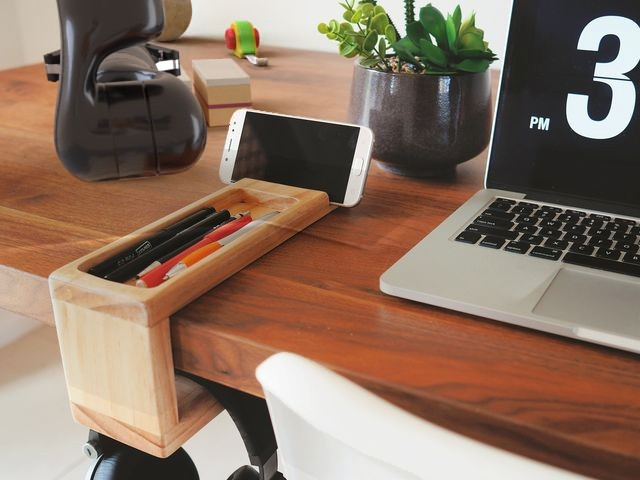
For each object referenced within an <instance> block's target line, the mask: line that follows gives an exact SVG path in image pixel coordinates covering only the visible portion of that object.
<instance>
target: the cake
mask: <svg viewBox="0 0 640 480" xmlns="http://www.w3.org/2000/svg"><path fill="white" fill-rule="evenodd" d="M191 67H192V68H191V69H192V80H193V81H192V80H191V77H189V75H188V73H187V71H185V69H184V68H183V66H182V65H181V64H180V70H181V75H180V76H178V77H177V78H179V79H181V80H182V81H183V82H184V83H185V84H186V85H187V86H188V87H189V88H190V89H191V90H192V91H193V93H194V95H195V96H196V98H197V99H198V102H199V104H200V106H201V108H202V111H203V114H204V117H205V121H206V123H207V124H208V126H209V127H210V128H211V127H225V126H230V125H229V122H230V119H231V117H232V115H233V113H234V112H235V111H236V110H238V109H242V108H247V109H252V110H253V101H252V85H251V83H252V82H251V76H250V75H249V74H248V73H246V72H245V71H244V70H243V68H242V67H241V66H239V64H238V63H237V62H236V61H234V59H233V58H231V57H230V58H206V59H192V60H191ZM192 82H193V83H192ZM192 85H193V86H192ZM193 89H194V90H193Z"/></svg>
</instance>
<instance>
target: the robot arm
mask: <svg viewBox="0 0 640 480" xmlns="http://www.w3.org/2000/svg"><path fill="white" fill-rule="evenodd" d="M55 4H56V10H57V18H58V24H59V25H58V26H59V39H60V40H59V42H60V49H57V50H54V51H51V52H48V53H45V54H43V55H42V56H43V62H44V68H45V69H44V70H45V74H46V80H47V82H51V83H57V82H58V83H57V84H58V85H57V93H56V102H55V109H54V119H53V144H54V148H55V152H56V156H57V157H58V160H59V161H60V163H61V164H62V166H63V167H64V168H65V169H66V171H67V172H68V173H69V174H70V175H71V176H73V177H74V178H75V179H77V180H78V181H80V182H82V183H86V184H105V183H114V182H120V181H122V182H123V181H130V180H138V179H148V178H155V177H157V176H158V177H165V176H173V175H178V174H182V173H184V172H187V171H189V170H191V169H192V168H193V167H194V166H195V165H196V164H197V163H198V162H199V161H200V159H201V158H202V156H203V154H204V151H205V149H206V146H207V138H208V137H207V136H208V131H207V129H208V128H207V121H206V119H205V117H204V114H203V111H202V108H201V106H200V104H199V102H198V99H197V98H196V96H195V93H194V91H193V89H192V90H191V89H190V88H189V87H188V86H187V85H186V84H185V83H184V82H183V81H182V80H181V79H179V78H177V77H178V76H180V75H181V70H180V65H181V59H180V50H177V49H172V48H168V47H165V46H162V45H161V46H160V45H157V44H154V43H151V42H154V41H157V40H156V39H158V38H159V37H160V36H161V35H162V34H163V32H164V29H165V11H164V3H163V0H55Z"/></svg>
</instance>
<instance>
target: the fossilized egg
mask: <svg viewBox="0 0 640 480" xmlns="http://www.w3.org/2000/svg"><path fill="white" fill-rule="evenodd" d="M163 3H164V11H165V29H164V32H163V34H162V35H161V36H160V37H159V38H158V39H156V40H155V41H159V42H170V41H174V40H177V39H179V38H180V37H182V36H183V34H184V33H186V31H187V30H188V28H189V27H190V24H191V21H192V19H193V4H192V0H163Z"/></svg>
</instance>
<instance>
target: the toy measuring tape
mask: <svg viewBox="0 0 640 480" xmlns="http://www.w3.org/2000/svg"><path fill="white" fill-rule="evenodd" d="M224 41H225V45H226V48H227V49H228V50H231V51H232V53H233V54H234V55H235V56H236V57H237V58H239V59H247V60H248V61H249V63H251V64H253V65H254V66H255V65H256V67H260V66H261V67H262V66H268V64H269V60H268V58H267V57H261V58H259V52H258V48H259V47H260V43H261V39H260V32H259V30H258V29H257V27H254V25H253V24H252V22H249V21H248V20H234V21H233V22H232V23H230V26H229V27H228V28H226V30H225V32H224Z"/></svg>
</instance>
